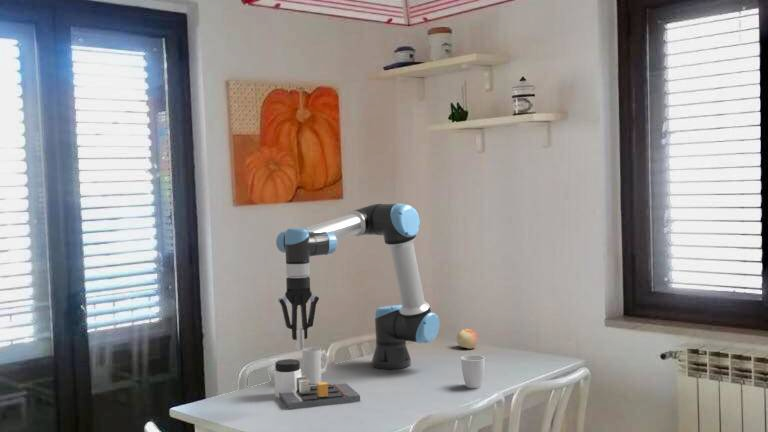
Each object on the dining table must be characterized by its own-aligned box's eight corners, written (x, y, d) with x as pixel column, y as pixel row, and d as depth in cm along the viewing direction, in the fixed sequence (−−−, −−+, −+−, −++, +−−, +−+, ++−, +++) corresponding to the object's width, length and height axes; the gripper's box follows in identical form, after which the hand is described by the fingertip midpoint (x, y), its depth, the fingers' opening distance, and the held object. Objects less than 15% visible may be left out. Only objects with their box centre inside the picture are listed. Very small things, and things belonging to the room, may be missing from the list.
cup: (486, 384, 285) (486, 355, 284) (483, 390, 277) (482, 360, 277) (463, 382, 287) (463, 354, 287) (459, 388, 279) (459, 360, 279)
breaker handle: (325, 393, 267) (325, 381, 267) (328, 396, 264) (327, 383, 264) (316, 394, 266) (316, 382, 266) (319, 397, 263) (318, 384, 263)
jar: (285, 392, 281) (284, 358, 281) (305, 394, 278) (304, 359, 277) (271, 399, 273) (269, 363, 273) (292, 401, 270) (291, 365, 269)
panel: (346, 388, 283) (345, 370, 282) (360, 401, 266) (359, 381, 266) (277, 396, 275) (277, 376, 275) (287, 409, 259) (287, 389, 259)
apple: (467, 345, 350) (466, 326, 350) (482, 348, 343) (481, 329, 343) (452, 348, 344) (452, 329, 344) (467, 351, 338) (467, 332, 337)
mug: (309, 385, 288) (308, 352, 287) (299, 382, 293) (298, 349, 293) (333, 380, 294) (332, 348, 293) (323, 377, 299) (322, 345, 299)
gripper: (316, 273, 267) (318, 345, 268) (274, 276, 262) (276, 349, 263) (322, 276, 259) (324, 349, 261) (278, 279, 255) (280, 353, 256)
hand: (300, 349), depth 262 cm, fingers closed
